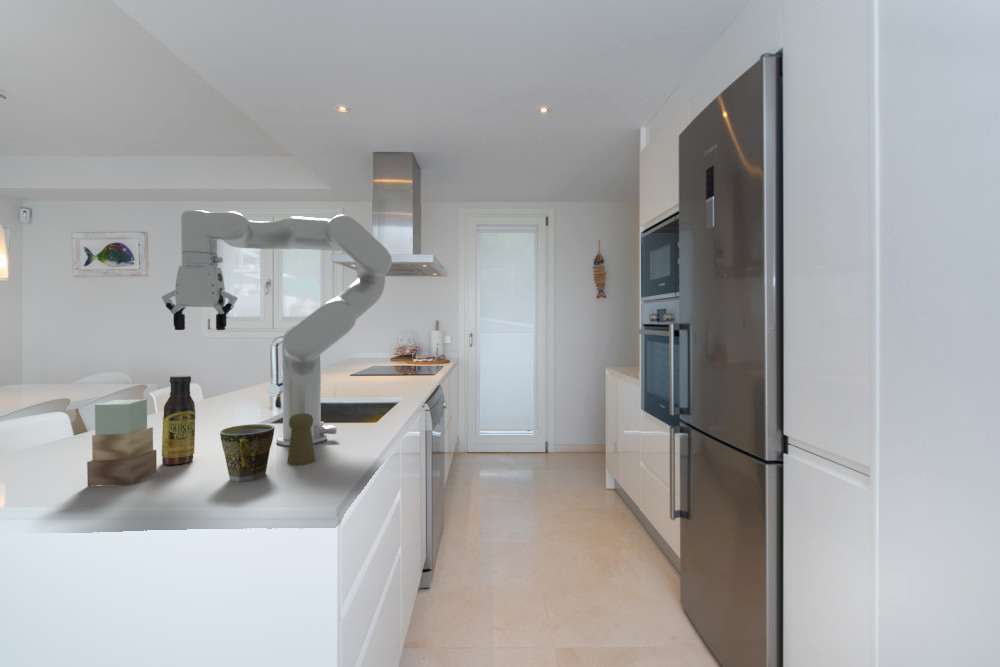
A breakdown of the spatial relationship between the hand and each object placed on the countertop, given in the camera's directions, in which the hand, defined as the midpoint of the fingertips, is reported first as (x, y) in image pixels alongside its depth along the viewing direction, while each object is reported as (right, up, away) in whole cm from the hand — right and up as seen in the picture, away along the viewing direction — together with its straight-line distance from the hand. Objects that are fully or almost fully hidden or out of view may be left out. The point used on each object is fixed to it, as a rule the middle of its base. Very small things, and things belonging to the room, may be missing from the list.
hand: (200, 329), depth 118 cm
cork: (+29, -31, -9) cm, 43 cm away
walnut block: (-2, -31, -22) cm, 38 cm away
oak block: (-2, -26, -21) cm, 34 cm away
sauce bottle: (+1, -31, -10) cm, 32 cm away
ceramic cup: (+23, -31, -21) cm, 44 cm away
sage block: (-2, -21, -22) cm, 30 cm away
